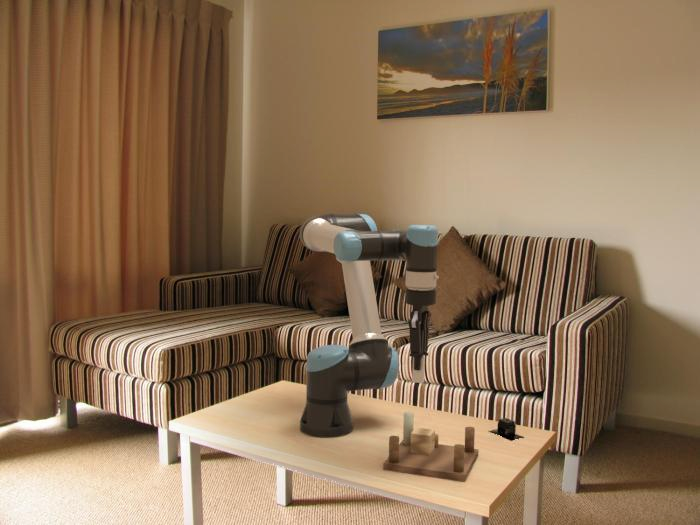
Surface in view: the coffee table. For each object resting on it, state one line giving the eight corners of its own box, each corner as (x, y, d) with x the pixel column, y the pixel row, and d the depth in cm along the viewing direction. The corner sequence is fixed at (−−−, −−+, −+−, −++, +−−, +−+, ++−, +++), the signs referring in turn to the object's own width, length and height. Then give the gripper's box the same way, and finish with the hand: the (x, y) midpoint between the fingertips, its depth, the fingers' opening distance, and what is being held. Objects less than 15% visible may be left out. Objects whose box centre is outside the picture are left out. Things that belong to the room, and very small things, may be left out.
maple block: (410, 452, 180) (410, 433, 180) (415, 446, 185) (416, 427, 184) (429, 455, 178) (430, 435, 178) (434, 448, 183) (434, 429, 183)
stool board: (383, 469, 173) (383, 439, 172) (403, 445, 190) (403, 417, 189) (465, 481, 166) (466, 450, 165) (478, 455, 183) (479, 426, 182)
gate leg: (402, 444, 185) (402, 414, 185) (404, 441, 188) (404, 411, 187) (427, 447, 184) (427, 416, 183) (428, 443, 186) (429, 413, 186)
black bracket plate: (531, 440, 197) (532, 424, 196) (512, 445, 193) (512, 428, 192) (500, 428, 207) (500, 412, 207) (481, 431, 203) (481, 416, 203)
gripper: (429, 292, 167) (426, 390, 170) (442, 285, 179) (439, 377, 182) (398, 290, 170) (396, 386, 172) (413, 283, 182) (410, 374, 184)
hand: (418, 381), depth 177 cm, fingers closed
